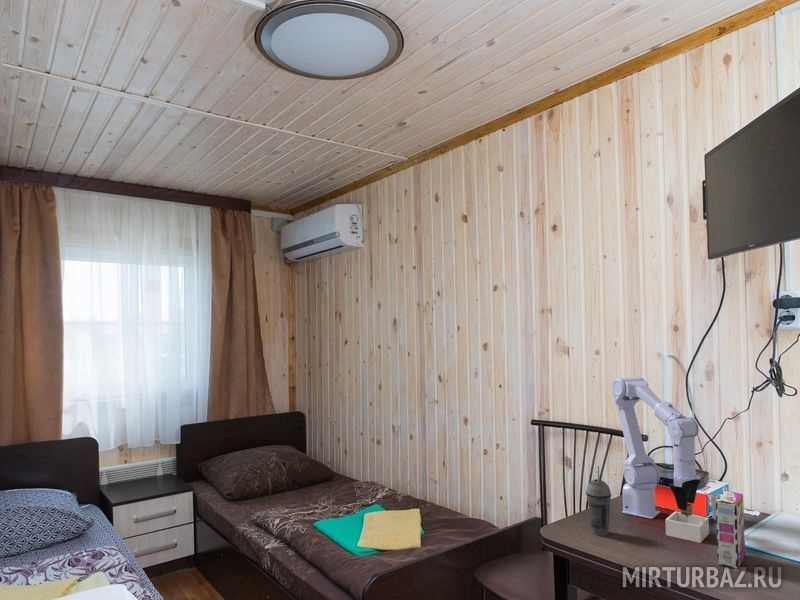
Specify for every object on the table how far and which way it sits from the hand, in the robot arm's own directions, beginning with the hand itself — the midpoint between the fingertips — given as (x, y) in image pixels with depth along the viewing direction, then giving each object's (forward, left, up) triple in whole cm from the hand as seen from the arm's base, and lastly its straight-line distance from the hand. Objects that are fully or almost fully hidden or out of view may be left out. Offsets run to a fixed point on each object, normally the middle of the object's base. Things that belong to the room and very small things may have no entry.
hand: (686, 506), depth 164 cm
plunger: (0, 0, -8) cm, 8 cm away
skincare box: (+6, +19, -8) cm, 22 cm away
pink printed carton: (+14, -12, -8) cm, 20 cm away
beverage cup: (-20, -15, -8) cm, 26 cm away
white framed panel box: (0, 0, -8) cm, 8 cm away
